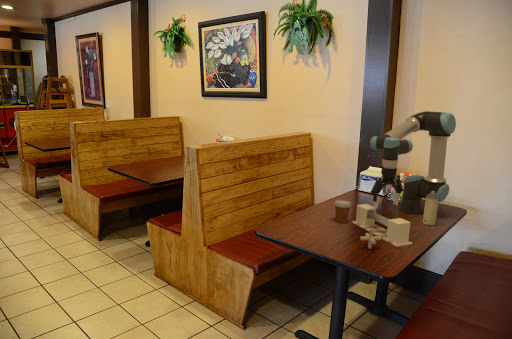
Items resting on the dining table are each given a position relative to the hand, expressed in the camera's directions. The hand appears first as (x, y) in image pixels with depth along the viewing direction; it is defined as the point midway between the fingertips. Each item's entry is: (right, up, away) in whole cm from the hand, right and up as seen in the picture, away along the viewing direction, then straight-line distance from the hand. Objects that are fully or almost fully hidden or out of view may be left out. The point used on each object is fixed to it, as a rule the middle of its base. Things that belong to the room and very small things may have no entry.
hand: (385, 205), depth 200 cm
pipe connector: (-13, -19, -15) cm, 28 cm away
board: (-1, -15, +5) cm, 16 cm away
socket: (+4, -18, -7) cm, 19 cm away
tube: (0, -10, +2) cm, 10 cm away
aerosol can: (+32, -13, +20) cm, 40 cm away
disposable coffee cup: (-19, -11, +20) cm, 30 cm away
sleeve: (-6, -12, +16) cm, 21 cm away
